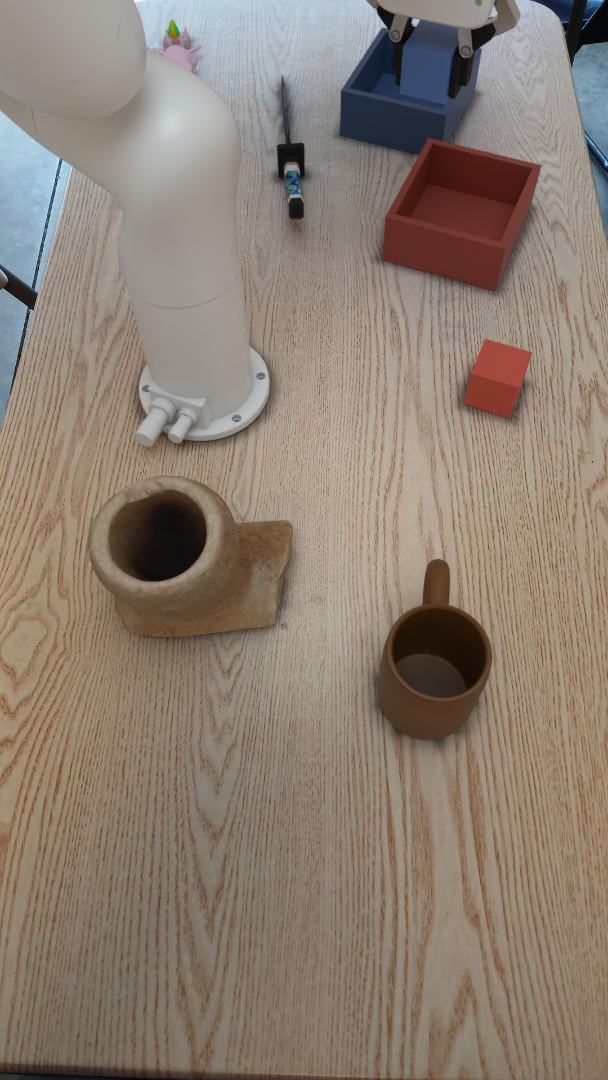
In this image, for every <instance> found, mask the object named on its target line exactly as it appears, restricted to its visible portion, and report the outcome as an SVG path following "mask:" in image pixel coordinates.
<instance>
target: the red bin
mask: <svg viewBox="0 0 608 1080" xmlns="http://www.w3.org/2000/svg"><path fill="white" fill-rule="evenodd" d="M541 169H542V164H538V163H534V162H529V161H526V160H522V159H518V158H513V157H510V156H506V155H501V154H497V153H492V152H489V151H484V150H480V149H476V148H473V147H468V146H464V145H460V144H455V143H452V142H449V143H448V142H444V141H440V140H435V139H431V138H428V139H427V141H426V143H425V145H424V147H423V149H422V151H421V152H420V154H418V156H417V158H416V160H415V162H414V163H413V165H412V167H411V169H410V171H409V173H408V174H407V176H406V178H405V179H404V182H403V184H402V186H401V187H400V189H399V191H398V192H397V194H396V197H395V198H394V200H393V202H392V204H391V206H390V208H389V209H388V211H387V213H386V215H385V217H384V229H383V243H382V253H381V260H382V261H386V262H389V263H392V264H396V265H400V266H404V267H407V268H410V269H414V270H418V271H421V272H425V273H429V274H431V275H435V276H440V277H443V278H447V279H451V280H454V281H458V282H461V283H464V284H468V285H471V286H476V287H478V288H482V289H486V290H490V291H494V292H496V290H497V288H498V286H499V283H500V281H501V279H502V276H503V274H504V272H505V270H506V268H507V265H508V262H509V260H510V258H511V256H512V252H513V251H514V248H515V246H516V244H517V241H518V239H519V237H520V235H521V231H522V230H523V227H524V225H525V222H526V220H527V217H528V216H529V213H530V211H531V208H532V203H533V200H534V196H535V192H536V188H537V185H538V181H539V177H540V173H541Z"/></svg>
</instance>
